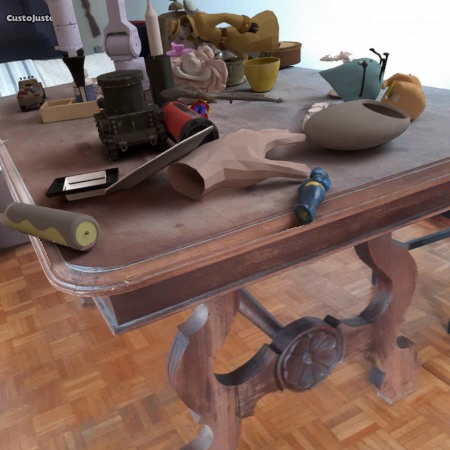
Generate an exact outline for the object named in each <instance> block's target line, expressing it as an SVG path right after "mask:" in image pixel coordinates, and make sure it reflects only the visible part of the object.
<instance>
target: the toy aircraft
mask: <svg viewBox="0 0 450 450" xmlns="http://www.w3.org/2000/svg"><path fill="white" fill-rule="evenodd" d="M182 5H183V7H184V9H183V10H185V12H186V14H187V16H189V17H191V16H192V15H193V14H195V13H197V12H202V11H201V10H199V8H198V7H197V6H196V4H195V2H194V0H182ZM203 46H209V47H210V48H211V49H212V51H213V53H214V57H218V56H219V57H220V54H222V52H223V51H220V50H218V49H217V47H215V46H214V45H213V44H211V43H209V44H208V43H206V42H205V43H203V44H202V45H200V46H199V47H198V49H200V48H201V47H203ZM198 49H197V50H198ZM219 57H218V58H219Z"/></svg>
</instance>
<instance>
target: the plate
mask: <svg viewBox="0 0 450 450" xmlns="http://www.w3.org/2000/svg"><path fill="white" fill-rule="evenodd" d="M213 129H214V127H213V126H211V127H209V128H207V129H205V130H203V131H201V132H199V133H197V134H195V135H193V136H191V137H189V138H188V139H186V140H184V141H182V142H180V143H179V144H177V145H176V144H174V146H172V147H170V148H168V149H166V150H165V151H164V152H162V153H160V154H159V155H157V156H155V157H154V158H152V159H150V160H149V161H147V162H145V163H143V164H142V165H140V166H139V167H136V168H135V169H133V170H132V171H130V172H129V173H127V174H125V176H123V177H122V178H119V181H117V182H116V183H114V184H113V185H112V186H110V187H109V188H107V189H106V190H104V192H105V193H107V194H111V193H113V192H116V191H120V190H125V189H131V188H133V187H134V186H137V185H139V184H140V183H142V182H143V181H146V180H147V179H149V178H150V177H152V176H154V175H156V174H157V173H159V172H161V171H162V170H164V169H165V168H168V167H169V164H171V163H173V162H174V161H176V160H177V159H179V158H181V157H183V156H184V155H186V154H188V153H190V152H191V151H193V150H194V149H195V148H196V147H197V146H198V145H199V144H200V143H201V141H202V140H203V139H204V137H205V136H207V135H208V134H209V133H210V132H211V131H212V130H213Z"/></svg>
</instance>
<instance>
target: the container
mask: <svg viewBox="0 0 450 450" xmlns="http://www.w3.org/2000/svg"><path fill="white" fill-rule="evenodd" d="M279 43H281V45H280V47H279V49H278V50H272V51H268V52H267V54H269V55H270V56H272V57H275V58H279V59H280V66H279V69H280V68H286V67H291V66H296V65H298V64H300V63H301V61H302V46H303V43H301V42H299V41H291V40H289V41H286V40H283V41H282V40H281V41H279ZM261 54H262V52H260V53H259V58H260V56H261ZM262 57H263V58H265V57H266V55H265V51H264V54H263V55H262ZM251 59H254V58H253V57H251V56H248V60H251Z"/></svg>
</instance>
